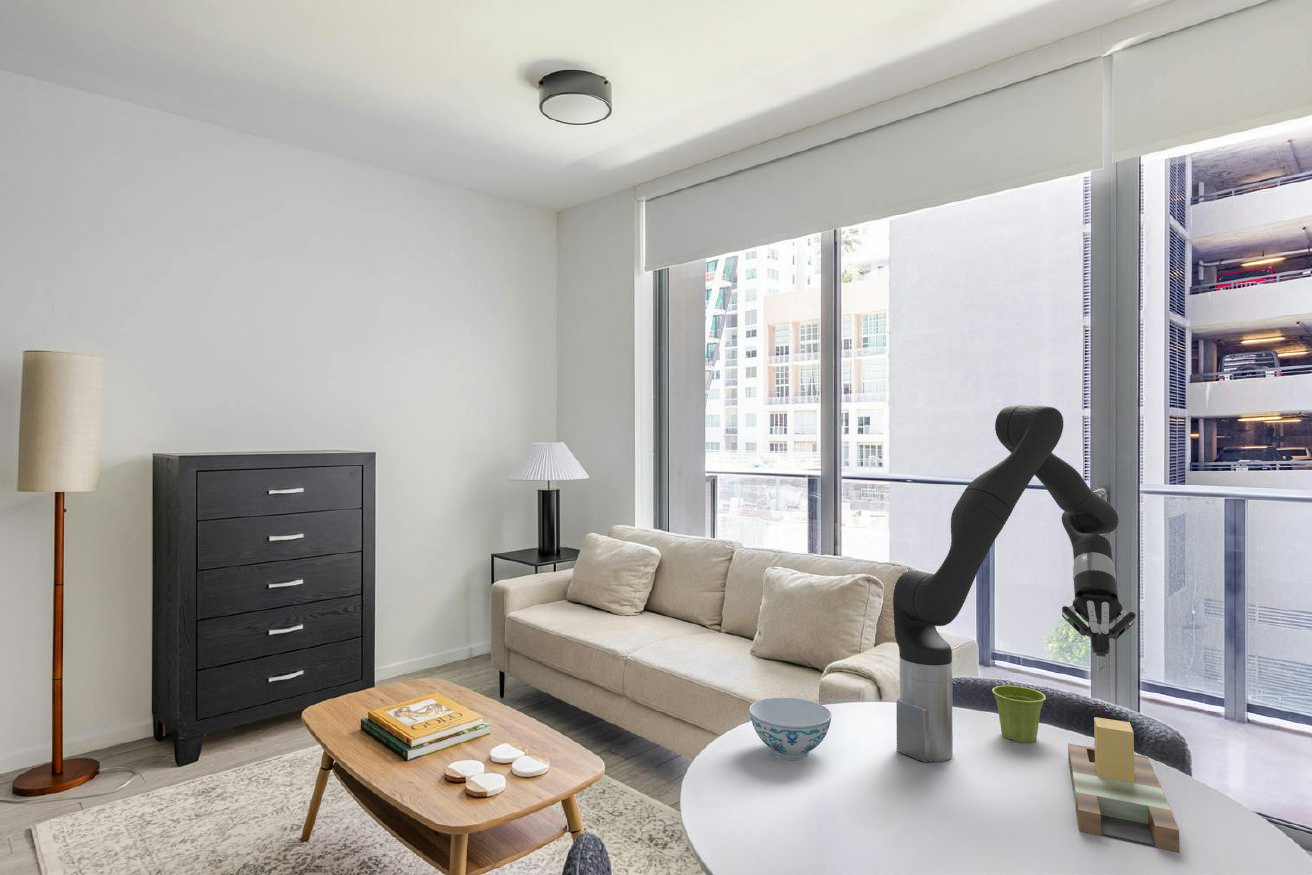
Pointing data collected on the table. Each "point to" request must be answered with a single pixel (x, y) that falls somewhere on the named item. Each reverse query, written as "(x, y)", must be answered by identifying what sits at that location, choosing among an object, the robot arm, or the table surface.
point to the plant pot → (1019, 712)
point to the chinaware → (790, 725)
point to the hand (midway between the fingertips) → (1101, 653)
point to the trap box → (1121, 802)
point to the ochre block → (1114, 749)
